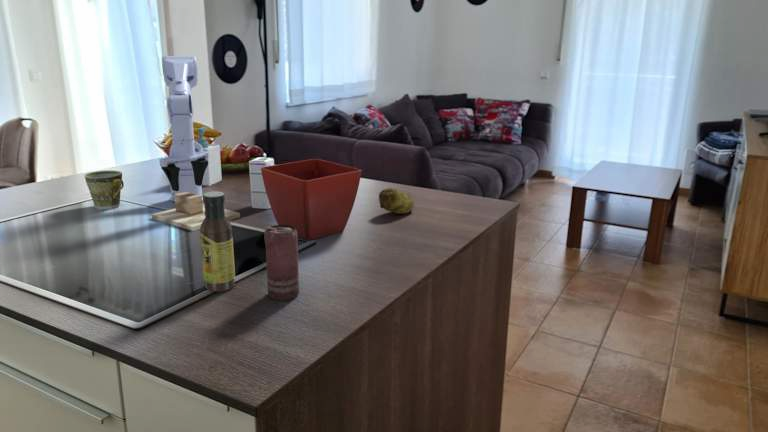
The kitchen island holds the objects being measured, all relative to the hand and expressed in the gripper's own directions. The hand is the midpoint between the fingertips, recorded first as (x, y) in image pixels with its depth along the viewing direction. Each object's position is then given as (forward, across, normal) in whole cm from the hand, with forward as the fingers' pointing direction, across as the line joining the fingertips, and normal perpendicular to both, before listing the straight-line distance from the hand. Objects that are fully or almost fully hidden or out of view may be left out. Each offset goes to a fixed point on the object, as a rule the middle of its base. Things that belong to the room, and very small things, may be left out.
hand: (187, 187), depth 164 cm
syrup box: (+8, +20, -9) cm, 23 cm away
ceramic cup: (+8, -9, +25) cm, 28 cm away
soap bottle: (+8, +28, +29) cm, 41 cm away
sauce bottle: (+9, -27, -46) cm, 54 cm away
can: (+9, -22, -59) cm, 63 cm away
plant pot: (+8, +12, -36) cm, 39 cm away
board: (+8, 0, -3) cm, 9 cm away
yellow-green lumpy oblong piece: (+8, +39, -45) cm, 60 cm away
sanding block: (+7, 0, 0) cm, 7 cm away
